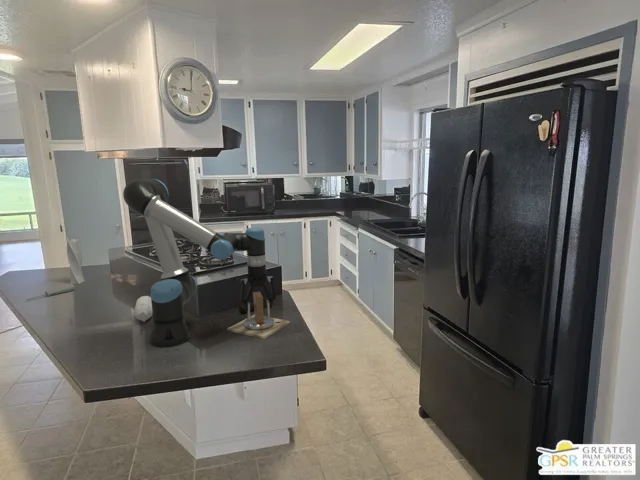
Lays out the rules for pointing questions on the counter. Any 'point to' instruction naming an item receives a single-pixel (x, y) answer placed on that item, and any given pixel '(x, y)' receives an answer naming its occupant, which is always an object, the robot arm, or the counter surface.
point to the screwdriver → (58, 290)
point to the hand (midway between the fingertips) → (258, 316)
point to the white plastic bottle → (143, 308)
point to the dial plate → (258, 333)
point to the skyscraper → (75, 261)
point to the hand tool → (242, 308)
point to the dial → (258, 315)
